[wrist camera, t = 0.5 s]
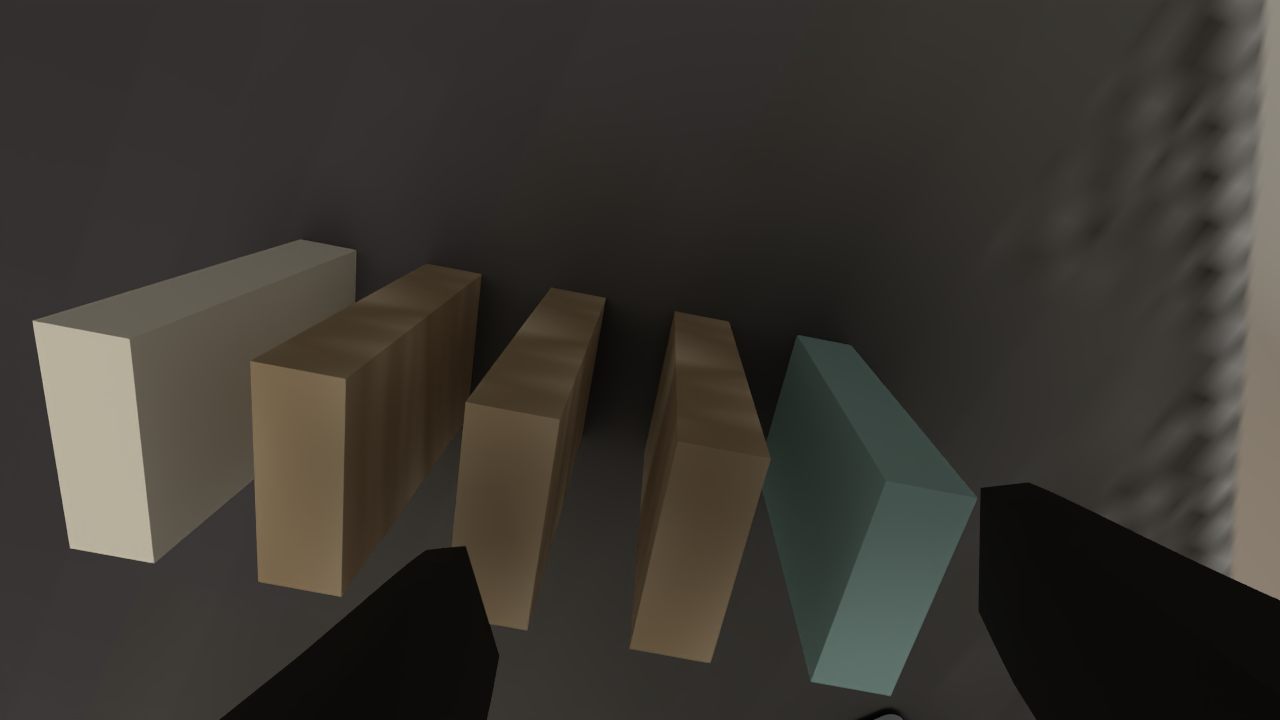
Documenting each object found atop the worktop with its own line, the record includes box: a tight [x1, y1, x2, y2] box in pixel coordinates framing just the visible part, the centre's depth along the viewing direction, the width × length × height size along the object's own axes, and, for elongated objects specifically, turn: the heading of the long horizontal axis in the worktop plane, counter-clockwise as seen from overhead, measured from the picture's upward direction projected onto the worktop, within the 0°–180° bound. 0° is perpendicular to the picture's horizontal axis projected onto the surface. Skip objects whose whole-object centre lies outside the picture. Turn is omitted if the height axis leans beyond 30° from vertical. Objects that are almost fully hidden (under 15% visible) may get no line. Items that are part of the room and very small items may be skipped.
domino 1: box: [33, 239, 357, 563], centre depth 15 cm, size 2×5×8 cm, turn 170°
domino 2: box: [250, 263, 482, 597], centre depth 15 cm, size 2×5×8 cm, turn 169°
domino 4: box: [630, 311, 771, 663], centre depth 15 cm, size 2×5×8 cm, turn 169°
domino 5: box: [762, 335, 977, 696], centre depth 15 cm, size 2×5×8 cm, turn 169°
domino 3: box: [452, 287, 606, 630], centre depth 15 cm, size 2×5×8 cm, turn 170°
